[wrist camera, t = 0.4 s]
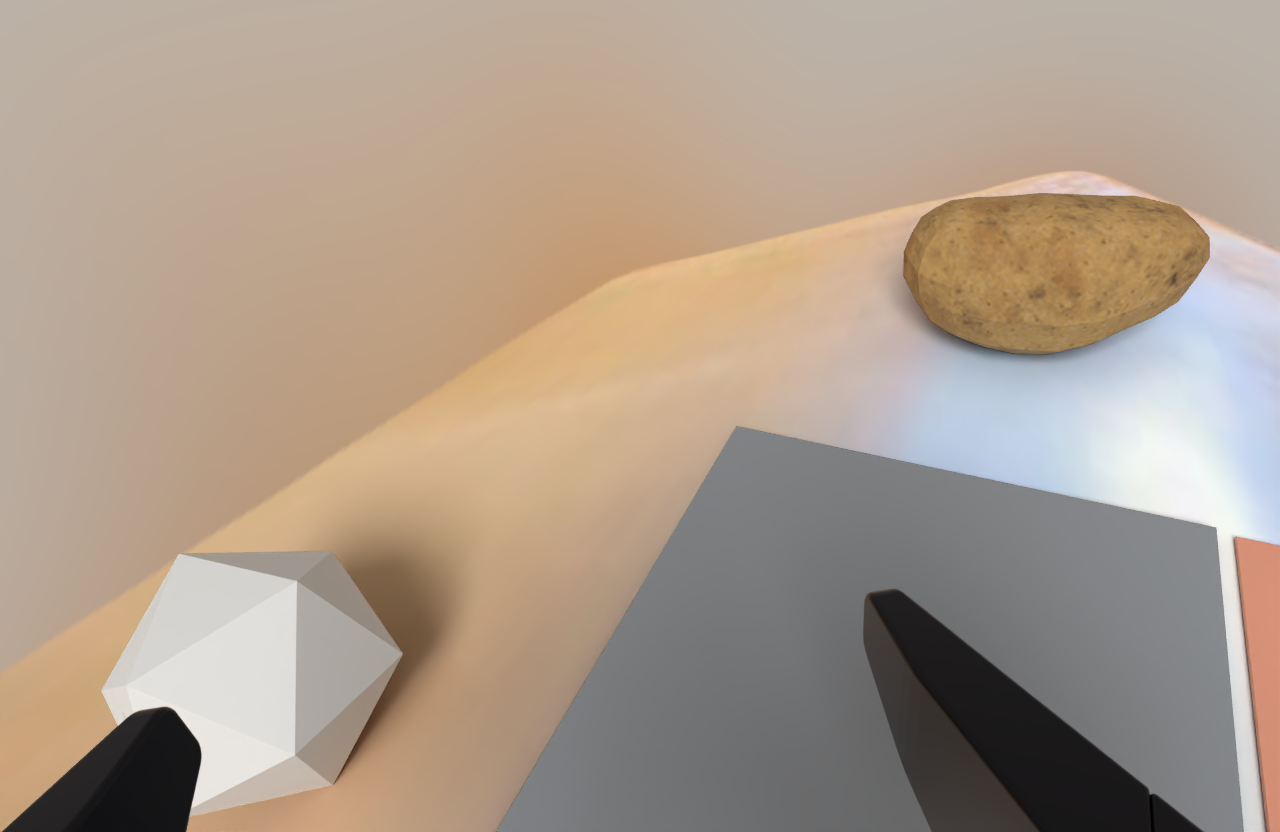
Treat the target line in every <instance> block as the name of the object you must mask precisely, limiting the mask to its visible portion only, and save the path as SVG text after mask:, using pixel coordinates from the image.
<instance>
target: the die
mask: <svg viewBox="0 0 1280 832" xmlns="http://www.w3.org/2000/svg"><path fill="white" fill-rule="evenodd" d="M402 655H403V653H402V652H401V650H400V649H399V647H398V646H397V644H396V643H395V641H394V640H393V639H392V637H391V636H390V634H389V633H388V631H387V630H386V628H385V627H384V625H383V624H382V622H381V621H380V620H379V618H378V617H377V615H376V614H375V612H374V611H373V609H372V608H371V606H370V605H369V603H368V602H367V601H366V599H365V598H364V596H363V595H362V593H361V592H360V590H359V589H358V587H357V586H356V584H355V583H354V582H353V580H352V579H351V577H350V576H349V574H348V573H347V571H346V570H345V568H344V567H343V565H342V564H341V563H340V561H339V560H338V558H337V557H336V555H335V554H334V552H333V551H298V552H242V553H187V554H179V555H178V556H177V558H176V560H175V562H174V564H173V565H172V567H171V569H170V571H169V572H168V574H167V576H166V578H165V579H164V581H163V583H162V585H161V586H160V588H159V590H158V592H157V594H156V595H155V597H154V599H153V601H152V602H151V604H150V606H149V608H148V609H147V611H146V613H145V615H144V616H143V618H142V620H141V622H140V624H139V625H138V627H137V629H136V631H135V632H134V634H133V636H132V638H131V639H130V641H129V643H128V645H127V646H126V648H125V650H124V652H123V654H122V655H121V657H120V659H119V661H118V662H117V664H116V666H115V668H114V669H113V671H112V673H111V675H110V677H109V678H108V680H107V682H106V684H105V685H104V687H103V689H102V693H103V695H104V697H105V699H106V702H107V704H108V706H109V708H110V710H111V712H112V714H113V716H114V718H115V721H116V723H117V725H120V724H121V723H122V722H123V721H124V720H125V719H126V718H127V717H129V716H130V715H131V714H133V713H135V712H137V711H140V710H145V709H151V708H158V707H170V708H172V709H174V710H175V711H176V712H177V714H178V715H179V716H180V718H181V719H182V720H183V722H184V723H185V724H186V726H187V727H188V728H189V730H190V731H191V732H192V734H193V735H194V736H195V738H196V739H197V740H198V742H199V744H200V747H201V753H202V759H201V766H200V770H199V775H198V780H197V784H196V789H195V793H194V798H193V802H192V807H191V812H190V816H189V817H191V816H196V815H201V814H205V813H210V812H214V811H219V810H223V809H228V808H232V807H237V806H242V805H246V804H251V803H255V802H260V801H264V800H269V799H273V798H278V797H283V796H287V795H292V794H296V793H301V792H305V791H310V790H314V789H319V788H323V787H328V786H333V784H334V782H335V781H336V779H337V777H338V775H339V773H340V771H341V769H342V768H343V766H344V764H345V762H346V760H347V758H348V756H349V754H350V753H351V751H352V749H353V747H354V745H355V743H356V741H357V739H358V738H359V736H360V734H361V732H362V730H363V728H364V726H365V724H366V723H367V721H368V719H369V717H370V715H371V713H372V711H373V709H374V708H375V706H376V704H377V702H378V700H379V698H380V696H381V694H382V693H383V691H384V689H385V687H386V685H387V683H388V681H389V679H390V678H391V676H392V674H393V672H394V670H395V668H396V666H397V664H398V663H399V661H400V659H401V657H402Z"/></svg>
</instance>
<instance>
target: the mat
mask: <svg viewBox="0 0 1280 832" xmlns="http://www.w3.org/2000/svg"><path fill="white" fill-rule="evenodd" d="M886 589H898V590H901V591H902V592H904V593H905V594H906V595H907V596H909V597H910V598H911V599H912V600H914V601H915V602H916V603H917V604H919V605H920V606H921V607H922V608H924V609H925V610H926V611H927V612H929V613H930V614H931V615H932V616H934V617H935V618H936V619H937V620H939V621H940V622H941V623H942V624H944V625H945V626H946V627H947V628H949V629H950V630H951V631H952V632H954V633H955V634H956V635H958V636H959V637H960V638H961V639H963V640H964V641H965V642H966V643H968V644H969V645H970V646H971V647H973V648H974V649H975V650H976V651H978V652H979V653H980V654H981V655H983V656H984V657H985V658H986V659H988V660H989V661H990V662H991V663H993V664H994V665H995V666H996V667H998V668H999V669H1000V670H1001V671H1003V672H1004V673H1005V674H1006V675H1008V676H1009V677H1010V678H1011V679H1013V680H1014V681H1015V682H1016V683H1018V684H1019V685H1020V686H1021V687H1023V688H1024V689H1025V690H1026V691H1028V692H1029V693H1030V694H1031V695H1033V696H1034V697H1035V698H1036V699H1038V700H1039V701H1040V702H1041V703H1043V704H1044V705H1045V706H1047V707H1048V708H1049V709H1050V710H1052V711H1053V712H1054V713H1055V714H1057V715H1058V716H1059V717H1060V718H1062V719H1063V720H1064V721H1065V722H1067V723H1068V724H1069V725H1070V726H1072V727H1073V728H1074V729H1075V730H1077V731H1078V732H1079V733H1080V734H1082V735H1083V736H1084V737H1085V738H1087V739H1088V740H1089V741H1090V742H1092V743H1093V744H1094V745H1095V746H1097V747H1098V748H1099V749H1100V750H1102V751H1103V752H1104V753H1105V754H1107V755H1108V756H1109V757H1110V758H1112V759H1113V760H1114V761H1115V762H1117V763H1118V764H1119V765H1120V766H1122V767H1123V768H1124V769H1125V770H1127V771H1128V772H1129V773H1130V774H1132V775H1133V776H1134V777H1136V778H1137V779H1138V780H1139V781H1141V782H1142V783H1143V784H1144V785H1146V786H1147V787H1148V788H1149V791H1150V795H1151V794H1153V793H1155V794H1157V795H1158V796H1160V797H1161V798H1162V799H1164V800H1165V801H1166V802H1167V803H1169V804H1170V805H1171V806H1172V807H1174V808H1175V809H1176V810H1177V811H1179V812H1180V813H1181V814H1182V815H1184V816H1185V817H1186V818H1187V819H1189V820H1190V821H1191V822H1192V823H1194V824H1195V825H1196V826H1198V827H1199V828H1200V829H1202V830H1203V831H1204V832H1244V830H1243V819H1242V808H1241V796H1240V785H1239V774H1238V763H1237V752H1236V741H1235V730H1234V719H1233V708H1232V697H1231V686H1230V675H1229V663H1228V652H1227V641H1226V630H1225V619H1224V608H1223V597H1222V586H1221V575H1220V564H1219V553H1218V542H1217V530H1216V527H1211V526H1206V525H1202V524H1197V523H1192V522H1187V521H1183V520H1178V519H1173V518H1169V517H1164V516H1159V515H1154V514H1150V513H1145V512H1140V511H1135V510H1131V509H1126V508H1121V507H1117V506H1112V505H1107V504H1102V503H1098V502H1093V501H1088V500H1083V499H1079V498H1074V497H1069V496H1065V495H1060V494H1055V493H1050V492H1046V491H1041V490H1036V489H1031V488H1027V487H1022V486H1017V485H1013V484H1008V483H1003V482H998V481H994V480H989V479H984V478H979V477H975V476H970V475H965V474H961V473H956V472H951V471H946V470H942V469H937V468H932V467H927V466H923V465H918V464H913V463H909V462H904V461H899V460H894V459H890V458H885V457H880V456H875V455H871V454H866V453H861V452H857V451H852V450H847V449H842V448H838V447H833V446H828V445H823V444H819V443H814V442H809V441H805V440H800V439H795V438H790V437H786V436H781V435H776V434H771V433H767V432H762V431H757V430H753V429H748V428H743V427H738V426H736V428H735V429H734V431H733V433H732V435H731V436H730V438H729V440H728V441H727V443H726V445H725V446H724V448H723V450H722V451H721V453H720V455H719V456H718V458H717V460H716V462H715V463H714V465H713V467H712V468H711V470H710V472H709V473H708V475H707V477H706V478H705V480H704V482H703V483H702V485H701V487H700V489H699V490H698V492H697V494H696V495H695V497H694V499H693V500H692V502H691V504H690V505H689V507H688V509H687V510H686V512H685V514H684V516H683V517H682V519H681V521H680V522H679V524H678V526H677V527H676V529H675V531H674V532H673V534H672V536H671V537H670V539H669V541H668V543H667V544H666V546H665V548H664V549H663V551H662V553H661V554H660V556H659V558H658V559H657V561H656V563H655V564H654V566H653V568H652V570H651V571H650V573H649V575H648V576H647V578H646V580H645V581H644V583H643V585H642V586H641V588H640V590H639V591H638V593H637V595H636V597H635V598H634V600H633V602H632V603H631V605H630V607H629V608H628V610H627V612H626V613H625V615H624V617H623V618H622V620H621V622H620V624H619V625H618V627H617V629H616V630H615V632H614V634H613V635H612V637H611V639H610V640H609V642H608V644H607V645H606V647H605V649H604V650H603V652H602V654H601V656H600V657H599V659H598V661H597V662H596V664H595V666H594V667H593V669H592V671H591V672H590V674H589V676H588V677H587V679H586V681H585V683H584V684H583V686H582V688H581V689H580V691H579V693H578V694H577V696H576V698H575V699H574V701H573V703H572V704H571V706H570V708H569V710H568V711H567V713H566V715H565V716H564V718H563V720H562V721H561V723H560V725H559V726H558V728H557V730H556V731H555V733H554V735H553V737H552V738H551V740H550V742H549V743H548V745H547V747H546V748H545V750H544V752H543V753H542V755H541V757H540V758H539V760H538V762H537V764H536V765H535V767H534V769H533V770H532V772H531V774H530V775H529V777H528V779H527V780H526V782H525V784H524V785H523V787H522V789H521V791H520V792H519V794H518V796H517V797H516V799H515V801H514V802H513V804H512V806H511V807H510V809H509V811H508V812H507V814H506V816H505V818H504V819H503V821H502V823H501V824H500V826H499V828H498V829H497V831H496V832H931V829H930V827H929V825H928V823H927V820H926V818H925V816H924V814H923V812H922V809H921V807H920V805H919V803H918V800H917V798H916V796H915V794H914V792H913V789H912V787H911V785H910V782H909V780H908V778H907V775H906V773H905V770H904V768H903V765H902V762H901V759H900V757H899V754H898V751H897V748H896V745H895V742H894V739H893V735H892V732H891V729H890V726H889V723H888V720H887V717H886V714H885V711H884V708H883V705H882V701H881V698H880V695H879V692H878V689H877V686H876V683H875V680H874V677H873V674H872V670H871V667H870V664H869V661H868V658H867V655H866V651H865V647H864V642H863V621H864V600H865V597H866V595H867V594H868V593H869V592H873V591H879V590H886Z"/></svg>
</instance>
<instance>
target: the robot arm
mask: <svg viewBox="0 0 1280 832" xmlns="http://www.w3.org/2000/svg"><path fill="white" fill-rule="evenodd" d="M863 642H864V647H865V651H866V655H867V658H868V661H869V664H870V667H871V670H872V674H873V677H874V680H875V683H876V686H877V689H878V692H879V695H880V698H881V701H882V705H883V708H884V711H885V714H886V717H887V720H888V723H889V726H890V729H891V732H892V735H893V739H894V742H895V745H896V748H897V751H898V754H899V757H900V759H901V762H902V765H903V768H904V770H905V773H906V775H907V778H908V780H909V782H910V785H911V787H912V789H913V792H914V794H915V796H916V798H917V800H918V803H919V805H920V807H921V809H922V812H923V814H924V816H925V818H926V820H927V823H928V825H929V827H930V829H931V832H1204V831H1203V830H1202V829H1200V828H1199V827H1198V826H1196V825H1195V824H1194V823H1192V822H1191V821H1190V820H1189V819H1187V818H1186V817H1185V816H1184V815H1182V814H1181V813H1180V812H1179V811H1177V810H1176V809H1175V808H1174V807H1172V806H1171V805H1170V804H1169V803H1167V802H1166V801H1165V800H1164V799H1162V798H1161V797H1160V796H1158V795H1157V794H1155V793H1153V794H1151V795H1150V791H1149V788H1148V787H1147V786H1146V785H1144V784H1143V783H1142V782H1141V781H1139V780H1138V779H1137V778H1136V777H1134V776H1133V775H1132V774H1130V773H1129V772H1128V771H1127V770H1125V769H1124V768H1123V767H1122V766H1120V765H1119V764H1118V763H1117V762H1115V761H1114V760H1113V759H1112V758H1110V757H1109V756H1108V755H1107V754H1105V753H1104V752H1103V751H1102V750H1100V749H1099V748H1098V747H1097V746H1095V745H1094V744H1093V743H1092V742H1090V741H1089V740H1088V739H1087V738H1085V737H1084V736H1083V735H1082V734H1080V733H1079V732H1078V731H1077V730H1075V729H1074V728H1073V727H1072V726H1070V725H1069V724H1068V723H1067V722H1065V721H1064V720H1063V719H1062V718H1060V717H1059V716H1058V715H1057V714H1055V713H1054V712H1053V711H1052V710H1050V709H1049V708H1048V707H1047V706H1045V705H1044V704H1043V703H1041V702H1040V701H1039V700H1038V699H1036V698H1035V697H1034V696H1033V695H1031V694H1030V693H1029V692H1028V691H1026V690H1025V689H1024V688H1023V687H1021V686H1020V685H1019V684H1018V683H1016V682H1015V681H1014V680H1013V679H1011V678H1010V677H1009V676H1008V675H1006V674H1005V673H1004V672H1003V671H1001V670H1000V669H999V668H998V667H996V666H995V665H994V664H993V663H991V662H990V661H989V660H988V659H986V658H985V657H984V656H983V655H981V654H980V653H979V652H978V651H976V650H975V649H974V648H973V647H971V646H970V645H969V644H968V643H966V642H965V641H964V640H963V639H961V638H960V637H959V636H958V635H956V634H955V633H954V632H952V631H951V630H950V629H949V628H947V627H946V626H945V625H944V624H942V623H941V622H940V621H939V620H937V619H936V618H935V617H934V616H932V615H931V614H930V613H929V612H927V611H926V610H925V609H924V608H922V607H921V606H920V605H919V604H917V603H916V602H915V601H914V600H912V599H911V598H910V597H909V596H907V595H906V594H905V593H904V592H902V591H901V590H898V589H886V590H879V591H873V592H869V593H868V594H867V595H866V597H865V600H864V621H863ZM201 759H202V753H201V747H200V744H199V742H198V740H197V739H196V738H195V736H194V735H193V734H192V732H191V731H190V730H189V728H188V727H187V726H186V724H185V723H184V722H183V720H182V719H181V718H180V716H179V715H178V714H177V712H176V711H175V710H174V709H172V708H170V707H158V708H151V709H145V710H140V711H137V712H135V713H133V714H131V715H130V716H129V717H127V718H126V719H125V720H124V721H123V722H122V723H121V724H120V725H118V726H117V727H116V728H115V729H114V730H113V731H112V732H111V733H110V734H109V735H107V736H106V737H105V738H104V739H103V740H102V741H101V742H100V743H99V744H98V745H96V746H95V747H94V748H93V749H92V750H91V751H90V752H89V753H88V754H87V755H86V756H84V757H83V758H82V759H81V760H80V761H79V762H78V763H77V764H76V765H75V766H73V767H72V768H71V769H70V770H69V771H68V772H67V773H66V774H65V775H64V776H63V777H61V778H60V779H59V780H58V781H57V782H56V783H55V784H54V785H53V786H52V787H50V788H49V789H48V790H47V791H46V792H45V793H44V794H43V795H42V796H41V797H39V798H38V799H37V800H36V801H35V802H34V803H33V804H32V805H31V806H30V807H29V808H27V809H26V810H25V811H24V812H23V813H22V814H21V815H20V816H19V817H18V818H16V819H15V820H14V821H13V822H12V823H11V824H10V825H9V826H8V827H7V828H5V829H4V830H3V831H2V832H186V830H187V825H188V821H189V816H190V812H191V807H192V802H193V798H194V793H195V789H196V784H197V780H198V775H199V770H200V766H201Z"/></svg>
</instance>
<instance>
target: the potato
mask: <svg viewBox="0 0 1280 832" xmlns="http://www.w3.org/2000/svg"><path fill="white" fill-rule="evenodd" d="M1209 258H1210V243H1209V236H1208V235H1207V234H1206V233H1205V231H1204V230H1203V229H1202V228H1201V227H1200V225H1199V224H1198V223H1197V222H1196V221H1195V220H1194V219H1193V218H1191V217H1190V216H1189V215H1188V214H1187V213H1186V212H1185V211H1184V210H1183V209H1182V208H1181V207H1180V206H1176V205H1172V204H1167V203H1163V202H1159V201H1155V200H1151V199H1147V198H1142V197H1138V196H1098V195H1078V194H1049V193H1037V194H1026V195H1015V196H1000V197H974V198H966V199H959V200H951V201H949V202H947V203H945V204H943V205H941V206H938V207H936V208H935V209H933V210H932V211H930V212H929V213H927V214H926V215H924V216H923V217H921V219H920V221H919V222H918V224H917V226H916V227H915V229H914V231H913V232H912V234H911V237H910V239H909V241H908V243H907V246H906V248H905V250H904V270H903V276H904V278H905V280H906V282H907V284H908V286H909V288H910V290H911V292H912V293H913V295H914V297H915V299H916V301H917V303H918V304H919V305H920V307H921V308H922V309H923V311H924V312H925V313H926V315H927V316H928V317H929V319H930V320H931V321H932V322H933V323H935V324H936V325H938V326H939V327H941V328H942V329H944V330H945V331H947V332H949V333H951V334H953V335H955V336H957V337H959V338H961V339H963V340H966V341H969V342H972V343H974V344H977V345H980V346H983V347H986V348H991V349H995V350H1000V351H1005V352H1010V353H1019V354H1042V355H1045V354H1050V353H1055V352H1060V351H1064V350H1068V349H1073V348H1077V347H1081V346H1085V345H1090V344H1093V343H1096V342H1098V341H1100V340H1102V339H1104V338H1106V337H1109V336H1111V335H1113V334H1115V333H1117V332H1119V331H1121V330H1124V329H1126V328H1128V327H1131V326H1133V325H1136V324H1138V323H1140V322H1143V321H1145V320H1148V319H1150V318H1152V317H1154V316H1156V315H1158V314H1159V313H1161V312H1162V311H1164V310H1166V309H1167V308H1169V307H1170V306H1172V305H1174V304H1175V303H1177V302H1178V301H1179V300H1180V299H1181V297H1182V296H1183V295H1184V293H1185V292H1186V291H1187V290H1188V288H1189V287H1190V286H1191V284H1192V283H1193V282H1194V281H1195V279H1196V278H1197V276H1198V275H1199V273H1200V272H1201V270H1202V269H1203V267H1204V266H1205V264H1206V263H1207V261H1208V260H1209Z"/></svg>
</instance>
